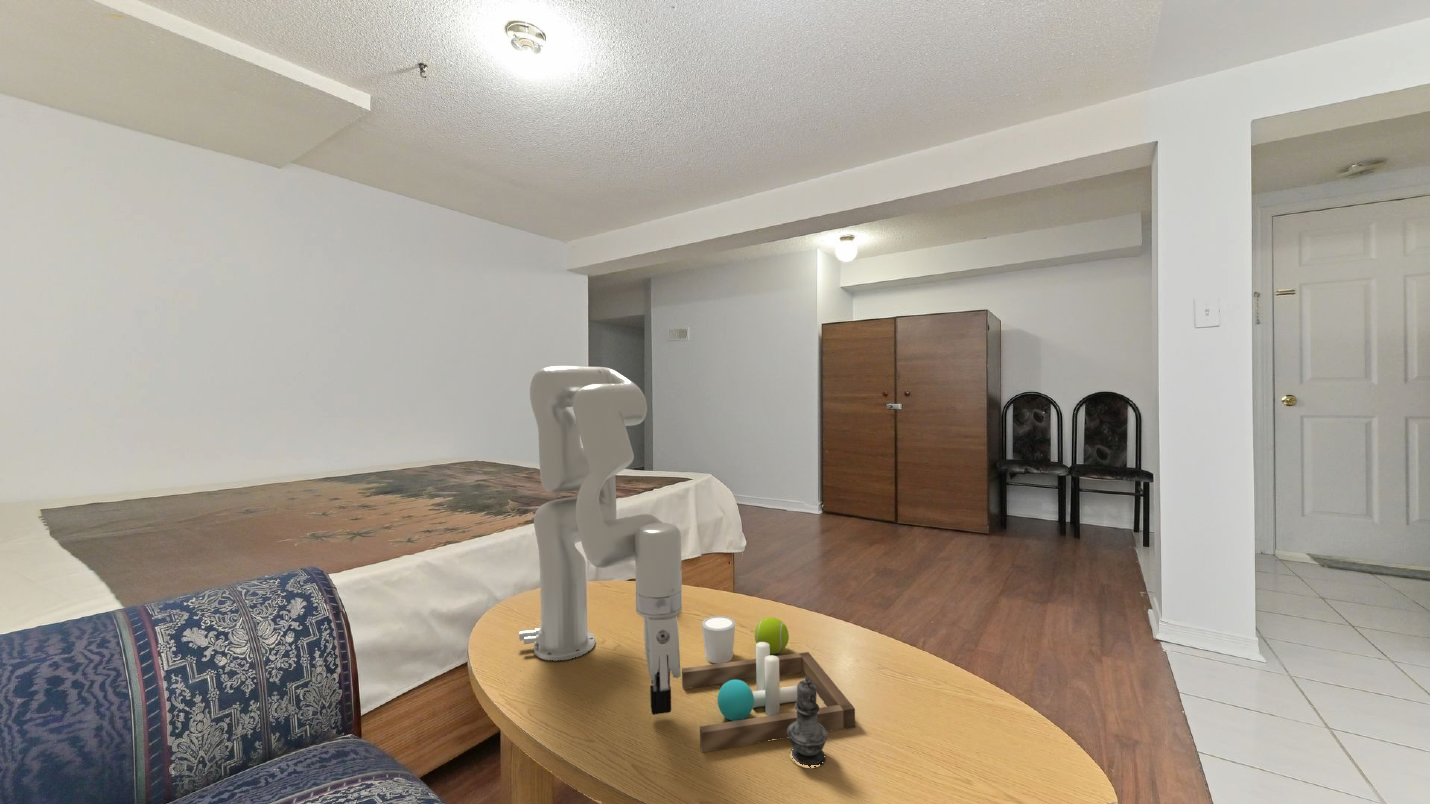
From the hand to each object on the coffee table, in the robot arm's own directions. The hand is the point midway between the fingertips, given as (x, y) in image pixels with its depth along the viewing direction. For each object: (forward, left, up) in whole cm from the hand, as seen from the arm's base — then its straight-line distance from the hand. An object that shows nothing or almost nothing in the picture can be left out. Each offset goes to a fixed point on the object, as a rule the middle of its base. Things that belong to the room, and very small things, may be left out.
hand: (661, 710), depth 87 cm
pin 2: (+18, -2, -2) cm, 19 cm away
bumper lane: (+18, 0, -2) cm, 18 cm away
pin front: (+16, 0, 0) cm, 16 cm away
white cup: (+14, +18, -2) cm, 23 cm away
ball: (+12, -3, +2) cm, 12 cm away
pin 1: (+18, +3, -2) cm, 19 cm away
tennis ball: (+25, +17, -2) cm, 30 cm away
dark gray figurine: (+20, -14, -2) cm, 24 cm away
